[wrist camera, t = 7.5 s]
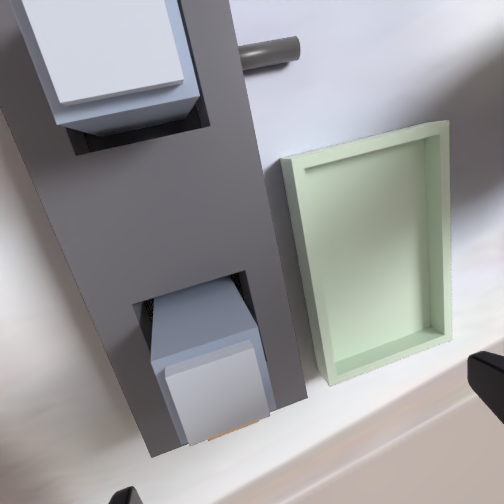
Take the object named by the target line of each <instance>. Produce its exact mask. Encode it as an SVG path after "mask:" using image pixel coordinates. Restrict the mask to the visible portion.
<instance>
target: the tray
mask: <svg viewBox="0 0 504 504" xmlns="http://www.w3.org/2000/svg"><path fill="white" fill-rule="evenodd" d="M280 162H281V167H282V173H283V178H284V184H285V190H286V195H287V201H288V206H289V212H290V217H291V223H292V228H293V234H294V240H295V245H296V251H297V256H298V262H299V267H300V273H301V278H302V284H303V290H304V295H305V301H306V306H307V312H308V317H309V323H310V328H311V334H312V339H313V345H314V351H315V356H316V362H317V367H318V371H319V372H320V374H321V375H322V377H323V378H324V379H325V381H326V382H327V384H328V385H329V386H333V385H336V384H338V383H341V382H343V381H346V380H349V379H351V378H354V377H357V376H359V375H362V374H364V373H367V372H370V371H372V370H375V369H377V368H380V367H383V366H385V365H388V364H390V363H393V362H396V361H398V360H401V359H404V358H406V357H409V356H411V355H414V354H417V353H419V352H422V351H424V350H427V349H430V348H432V347H435V346H437V345H440V344H443V343H445V342H448V341H451V340H452V276H451V208H450V140H449V120H444V121H435V122H427V123H422V124H418V125H414V126H410V127H406V128H402V129H398V130H394V131H390V132H386V133H382V134H378V135H374V136H369V137H365V138H361V139H357V140H353V141H349V142H345V143H341V144H337V145H333V146H329V147H325V148H321V149H317V150H312V151H308V152H304V153H300V154H296V155H292V156H288V157H284V158H280Z"/></svg>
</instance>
